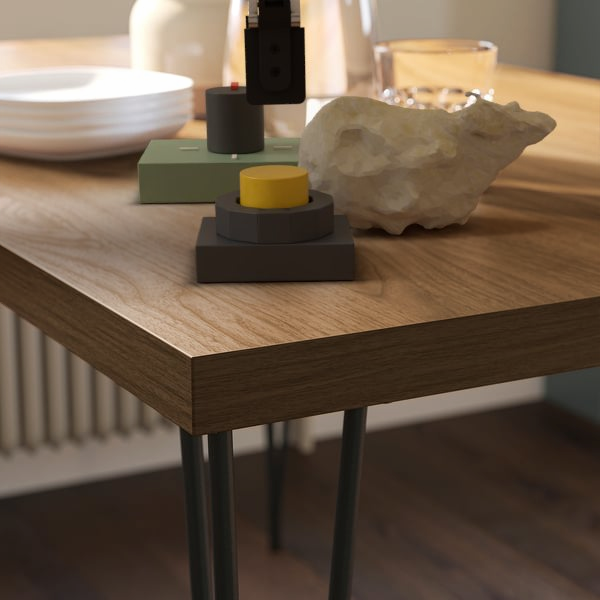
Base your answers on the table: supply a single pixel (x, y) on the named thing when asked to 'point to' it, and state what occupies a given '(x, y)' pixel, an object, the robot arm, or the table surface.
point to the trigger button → (274, 186)
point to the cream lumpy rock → (413, 158)
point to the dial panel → (202, 168)
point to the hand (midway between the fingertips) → (274, 91)
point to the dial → (233, 121)
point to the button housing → (275, 242)
